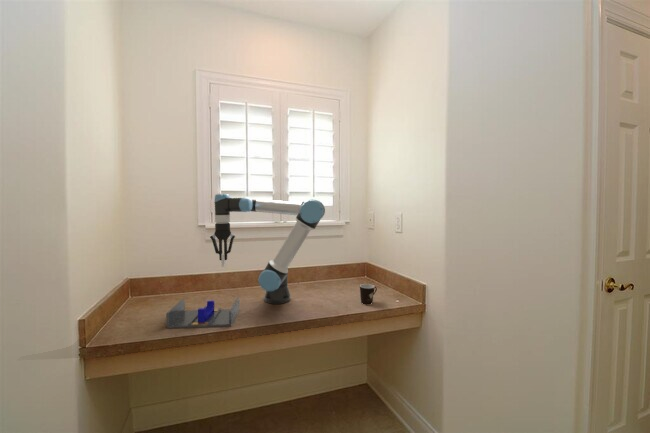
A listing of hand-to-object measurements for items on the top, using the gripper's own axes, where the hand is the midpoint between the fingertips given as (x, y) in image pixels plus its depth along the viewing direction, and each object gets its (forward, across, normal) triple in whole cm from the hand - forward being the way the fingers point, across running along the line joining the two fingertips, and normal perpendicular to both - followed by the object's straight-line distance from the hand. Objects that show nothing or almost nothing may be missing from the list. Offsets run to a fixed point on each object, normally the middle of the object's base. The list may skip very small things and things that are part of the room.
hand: (223, 266), depth 149 cm
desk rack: (+22, +6, +16) cm, 28 cm away
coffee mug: (+24, -81, +6) cm, 85 cm away
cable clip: (+21, +6, +17) cm, 28 cm away
